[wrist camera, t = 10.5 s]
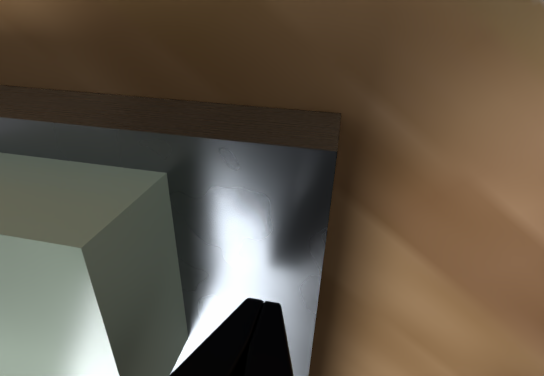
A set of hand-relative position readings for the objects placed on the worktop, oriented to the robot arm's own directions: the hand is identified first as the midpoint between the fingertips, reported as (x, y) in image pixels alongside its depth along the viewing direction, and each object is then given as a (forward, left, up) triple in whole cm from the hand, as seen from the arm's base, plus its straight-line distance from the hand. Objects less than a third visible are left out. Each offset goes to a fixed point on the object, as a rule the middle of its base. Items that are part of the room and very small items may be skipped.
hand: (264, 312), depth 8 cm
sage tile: (0, +6, -1) cm, 6 cm away
